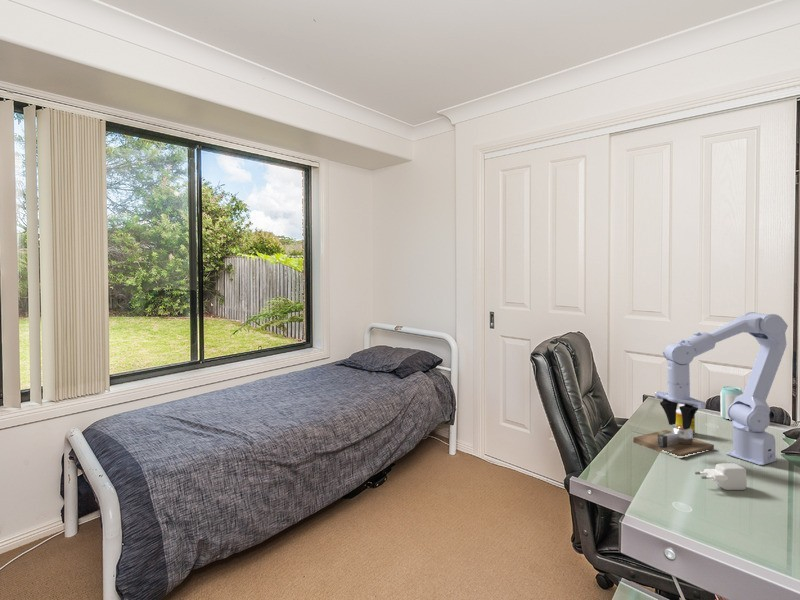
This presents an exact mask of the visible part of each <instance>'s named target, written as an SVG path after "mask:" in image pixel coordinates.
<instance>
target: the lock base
mask: <svg viewBox="0 0 800 600" xmlns="http://www.w3.org/2000/svg"><path fill="white" fill-rule="evenodd" d="M671 432H672V430H671V431H670V430H667V429H664V430H658V431H654V432H651V433H647V434H642V435H639V436H635V437H633V438H632V439H633V440H632V441H633V443H635V444H638V445H640V446H643V447H646V448H649V449H651V450H655V451H657V452H660V451H662V450H664V451H667V452H669V453H672V454H675V455H677V456H685V455H688V454H693V453H697V452H702V451H706V450H711V451H713V450H712V449H714V450H715V445H714V444H711V443H709V442H705V441H702V440H699V439H697V438H693V443H692V444H680V443H679V444H675V445H671V446H668V447H665V448H661V447H658V435H663V434H667V433H671ZM660 453H661V452H660Z"/></svg>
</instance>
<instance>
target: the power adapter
mask: <svg viewBox="0 0 800 600" xmlns="http://www.w3.org/2000/svg"><path fill="white" fill-rule="evenodd" d="M694 475H696V476H697V475H699V476H700V475H701V476H700V478H701V480H711V481H713V482H714V483H715V484H716V485H717V486H718V485H719V486H718V487H720V488H721V489H723V490H725V491H744V490H746V489H747V485H748V484H747V482H748V481H747V470H746V468H745V467H743V466H741V465H740V464H737V463H735V462H733V463H730V462H728V463H727V462H726V463H716V464H715V467H714V468H704V470H703V471H695V472H694Z"/></svg>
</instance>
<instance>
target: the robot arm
mask: <svg viewBox="0 0 800 600" xmlns="http://www.w3.org/2000/svg"><path fill="white" fill-rule="evenodd" d="M788 326H789V325H788V323H787V322H786V321H785V320H784V318H782V316H780V315H779V314H776V313H760V312H759V313H758V312H755V311H754V312H753V311H749V312H747V313H745V314H741V315H739V316H737V317H736V318H735V319H733V320H731V321H729V322H728V323H724V325H722V326H720V327H718V328H716V329H713V330H712V331H710V332H708V333H707V332H705V331H701V332H700V331H695V332H693V335H692V336H690V337H687V338H686V339H680V340H679V341H678V343H676V342H675V343H674V342H673V343H670V344H668V345H667V346H666V347H665V348H664V351H663V352H662V355H663V357H664V359H666V363H667V365H666V366H667V367H666V368H667V369H666V371H667V372H666V373H667V376H666V378H667V392H664V391H655V392H654V399H660V400H662V401H660V402H659V404H660V406H661V408H662V409H663V411H664V413H665V415H666V418H667V422H668V425H669V426H674V425H676V410H677V409H678V405H679V404H684V405H685V406H680V410H681V414H682V422H683V429H689V428H690V425H691V422H692V419H693V417H694V415H695V414H696V413H697V412H698V410H706V402H705V401H702V400H698V399H696V398H694V397H691V384H690V383H691V379H690V378H691V377H690V363H692V361H694V358H696V357H698V356H701V355H702V354H705V353H706V352H709V351H711V350H713V349H715V347H716V344H717V343H719V342H721V341H725V340H726V339H729V338H731V337H734V336H737V335H739V334H742V333H746V334H747V333H748V334H749V335H751V336H752V337H753V338H754V339H755V340H756V341H757V342H758V344H759V346H760V347H759V349H758V352H757V355H756V357H755V360H754V363H753V365H752V368H751V371H750V374H749V376H748V379H747V381H746V385H745V388H744V390H743V391H742V392H743V394H741V395H739V396H737V397H736V398H735V400H734V402H733V403H732V404H731V405H730V406H729V407H728V410H727V414H728V416H729V418H730V419H731V420H732V421H731V424H732V448H733V449H732V450H731V451H728V452H727V451H726V453H725V454H726V455H727V456H731V457H734V458H737V459H740V460H744V461H746V462H750V463H752V464H755V465H759V466H764V465H767V464H771V463H774V462H776V461H778V458H777V457H776V456H777V455H776V439H775V436H774V435H773V434H772V433H769V432H767V431H765V430H767V428H768V427H769V425H770V423H771V420H770V413H771V407H770V406H769V405H768V402H767V399H768V396H769V394H770V390H771V388H772V385H773V382H774V380H775V379H776V375H777V371H778V370H779V366H780V365H781V364H780V363H781V361H782V358H783V356H784V353H785V351H786V348H787V337H786V333H787V332H786V331H787V329H788Z"/></svg>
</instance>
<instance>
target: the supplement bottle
mask: <svg viewBox="0 0 800 600" xmlns="http://www.w3.org/2000/svg"><path fill="white" fill-rule="evenodd" d="M680 406H685V405H684V404H680V403H678V404H677V409H676V423H675V426H677V425H683V422H682V414H681V410H680ZM695 421H696V417H695V415H694V417H693V419H692V422H691V425H690V428H691V429H693V434H694V435H695V433H696V432H695V431H696V422H695Z"/></svg>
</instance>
